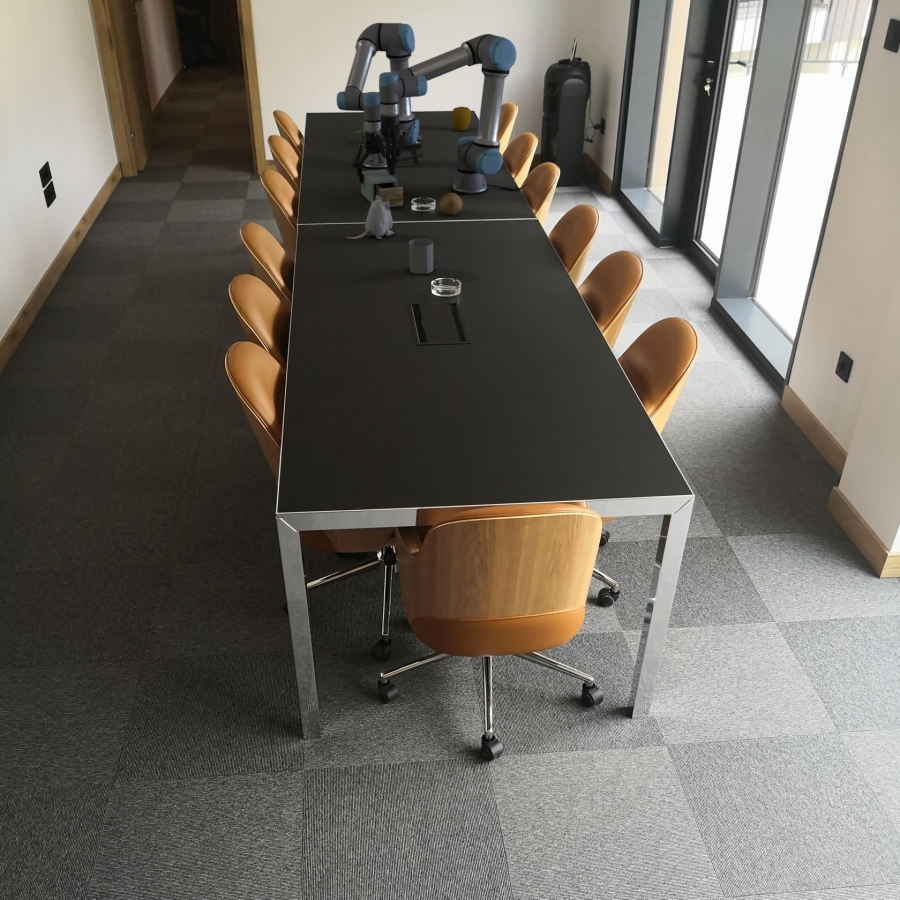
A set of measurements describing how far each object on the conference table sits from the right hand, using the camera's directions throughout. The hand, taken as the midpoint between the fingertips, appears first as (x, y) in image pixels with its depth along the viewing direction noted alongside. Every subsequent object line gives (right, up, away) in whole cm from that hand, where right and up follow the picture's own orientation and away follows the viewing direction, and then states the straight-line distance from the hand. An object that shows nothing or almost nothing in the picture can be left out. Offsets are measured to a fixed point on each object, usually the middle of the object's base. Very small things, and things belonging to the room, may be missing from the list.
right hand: (391, 174), depth 359 cm
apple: (+31, +67, +132) cm, 151 cm away
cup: (+14, -50, -51) cm, 73 cm away
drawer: (-2, -8, +13) cm, 16 cm away
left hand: (-9, +4, +24) cm, 26 cm away
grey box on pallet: (-7, -3, +23) cm, 24 cm away
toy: (-7, -33, -23) cm, 41 cm away
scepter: (-13, +51, +108) cm, 120 cm away
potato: (+25, -15, +4) cm, 29 cm away
